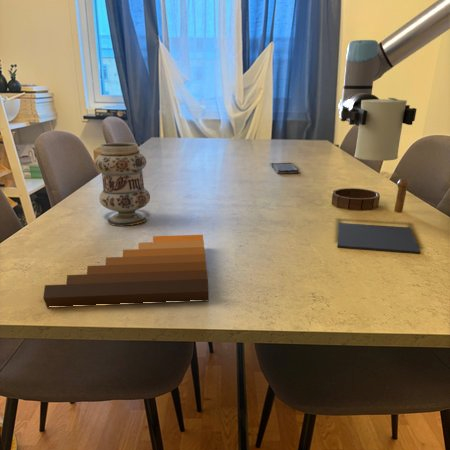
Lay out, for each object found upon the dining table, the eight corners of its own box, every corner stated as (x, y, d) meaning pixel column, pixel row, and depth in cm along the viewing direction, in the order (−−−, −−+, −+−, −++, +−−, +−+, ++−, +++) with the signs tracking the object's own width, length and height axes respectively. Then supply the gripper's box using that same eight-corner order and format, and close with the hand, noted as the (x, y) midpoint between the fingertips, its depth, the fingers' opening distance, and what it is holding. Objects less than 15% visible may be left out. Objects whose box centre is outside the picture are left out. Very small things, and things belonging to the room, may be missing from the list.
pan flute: (46, 310, 66) (208, 303, 68) (41, 290, 65) (208, 283, 66) (81, 251, 88) (203, 247, 90) (78, 235, 87) (202, 231, 88)
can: (406, 157, 95) (417, 97, 89) (379, 162, 90) (388, 99, 85) (372, 152, 102) (380, 96, 96) (345, 156, 97) (352, 98, 92)
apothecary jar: (151, 212, 113) (145, 140, 105) (152, 226, 103) (145, 147, 95) (104, 214, 112) (94, 141, 103) (100, 229, 101) (88, 148, 93)
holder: (399, 201, 122) (404, 170, 118) (404, 213, 111) (410, 180, 107) (332, 197, 126) (335, 168, 122) (330, 209, 115) (334, 177, 111)
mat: (409, 229, 100) (410, 227, 99) (419, 254, 86) (420, 251, 86) (338, 224, 103) (338, 222, 103) (337, 247, 89) (337, 245, 89)
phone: (290, 162, 170) (299, 170, 157) (290, 165, 170) (298, 173, 157) (270, 163, 169) (277, 170, 156) (270, 166, 170) (277, 173, 157)
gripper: (404, 126, 109) (437, 137, 89) (318, 126, 110) (332, 137, 90) (409, 93, 106) (446, 97, 86) (321, 93, 107) (336, 97, 87)
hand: (387, 117), depth 88 cm, fingers closed on can, 9 cm apart
